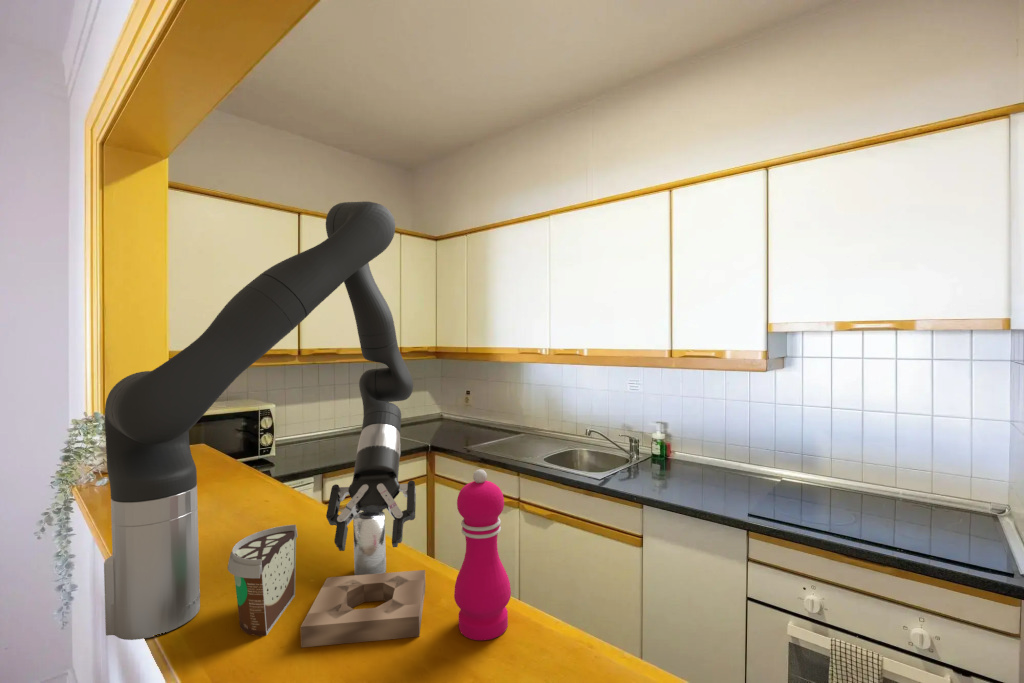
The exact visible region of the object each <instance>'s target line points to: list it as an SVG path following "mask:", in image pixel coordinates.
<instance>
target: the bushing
mask: <svg viewBox="0 0 1024 683" xmlns="http://www.w3.org/2000/svg"><path fill="white" fill-rule="evenodd" d="M385 517H386V515H385V512H384V511H378V510H371V511H364V512H363V511H361V512H360V513H358V514H356V515H355V516H354V517H353V520H352V521H353V522H352V525H353V561H354V566H353V567H354V575H367V574H380V573H387V554H386V550H387V548H386V518H385Z"/></svg>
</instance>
